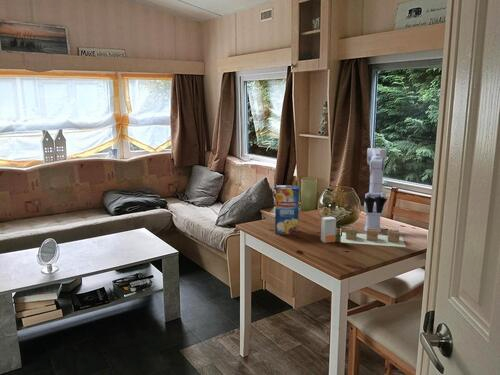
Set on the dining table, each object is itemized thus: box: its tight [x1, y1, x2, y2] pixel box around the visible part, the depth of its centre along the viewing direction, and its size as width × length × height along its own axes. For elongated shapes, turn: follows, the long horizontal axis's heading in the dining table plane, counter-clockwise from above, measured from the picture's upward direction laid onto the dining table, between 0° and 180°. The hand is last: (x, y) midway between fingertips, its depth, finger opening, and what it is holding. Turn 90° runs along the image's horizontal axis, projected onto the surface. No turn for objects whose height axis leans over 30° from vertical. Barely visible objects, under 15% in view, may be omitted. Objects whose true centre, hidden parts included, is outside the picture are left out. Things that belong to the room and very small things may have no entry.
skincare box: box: [320, 216, 337, 244], centre depth 211 cm, size 6×4×12 cm
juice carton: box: [274, 184, 300, 235], centre depth 225 cm, size 12×8×24 cm, turn 84°
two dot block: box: [345, 226, 358, 240], centre depth 216 cm, size 5×5×5 cm
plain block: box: [366, 228, 379, 241], centre depth 214 cm, size 5×5×5 cm
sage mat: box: [340, 232, 406, 248], centre depth 214 cm, size 16×30×1 cm, turn 77°
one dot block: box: [387, 228, 401, 243], centre depth 212 cm, size 5×5×5 cm
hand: (374, 212), depth 206 cm, fingers open, 7 cm apart
